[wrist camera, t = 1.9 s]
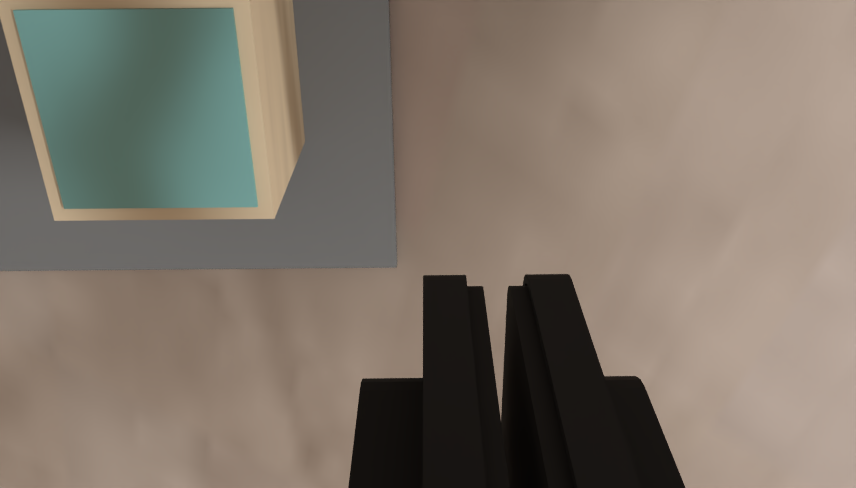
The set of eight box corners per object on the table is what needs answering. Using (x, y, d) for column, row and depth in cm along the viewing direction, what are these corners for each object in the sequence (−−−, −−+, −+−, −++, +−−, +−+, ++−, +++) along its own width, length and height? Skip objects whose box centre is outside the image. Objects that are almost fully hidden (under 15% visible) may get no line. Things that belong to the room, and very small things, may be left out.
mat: (381, -238, 21) (380, -239, 21) (397, 261, 29) (396, 267, 28) (-479, -231, 21) (-495, -232, 21) (-238, 267, 29) (-246, 273, 28)
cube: (288, -45, 23) (247, -10, 18) (305, 141, 26) (274, 220, 21) (91, -43, 23) (-10, -8, 18) (129, 142, 26) (53, 222, 21)
